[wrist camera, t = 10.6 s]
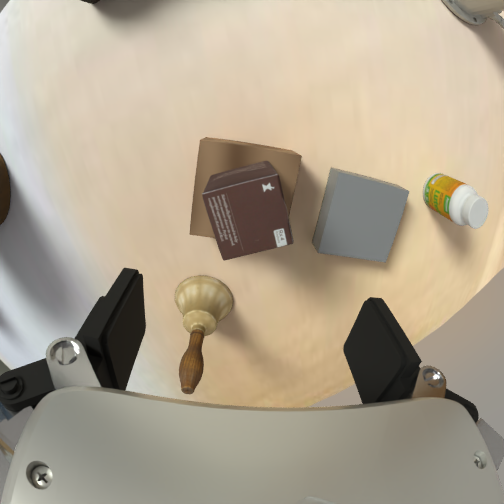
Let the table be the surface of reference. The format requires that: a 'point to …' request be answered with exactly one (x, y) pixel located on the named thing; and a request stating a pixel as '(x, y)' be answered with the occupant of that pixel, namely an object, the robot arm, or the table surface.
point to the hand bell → (199, 321)
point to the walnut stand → (234, 156)
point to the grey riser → (358, 216)
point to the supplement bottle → (455, 200)
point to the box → (247, 210)
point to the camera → (91, 1)
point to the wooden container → (4, 191)
